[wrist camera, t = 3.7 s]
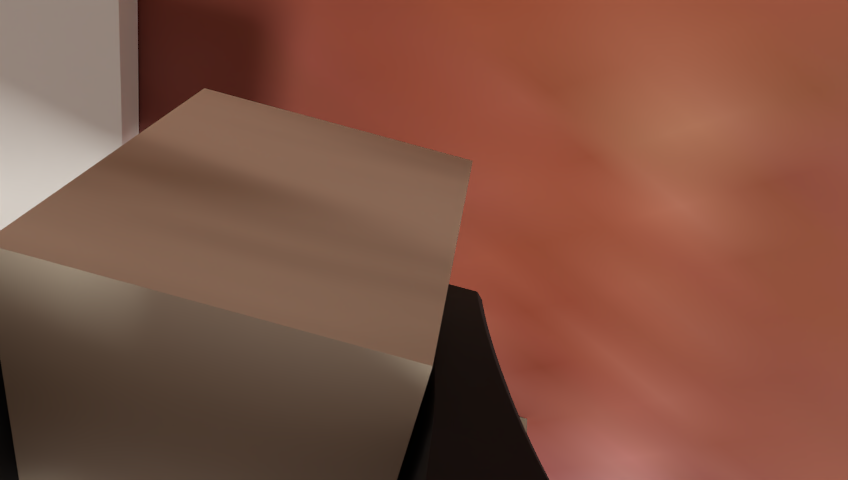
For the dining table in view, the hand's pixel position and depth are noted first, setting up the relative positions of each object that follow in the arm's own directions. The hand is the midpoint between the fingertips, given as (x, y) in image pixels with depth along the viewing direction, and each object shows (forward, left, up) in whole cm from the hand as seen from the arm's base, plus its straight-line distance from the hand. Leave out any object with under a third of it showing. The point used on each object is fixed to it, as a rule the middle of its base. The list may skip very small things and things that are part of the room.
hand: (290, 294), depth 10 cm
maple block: (0, 0, -2) cm, 2 cm away
